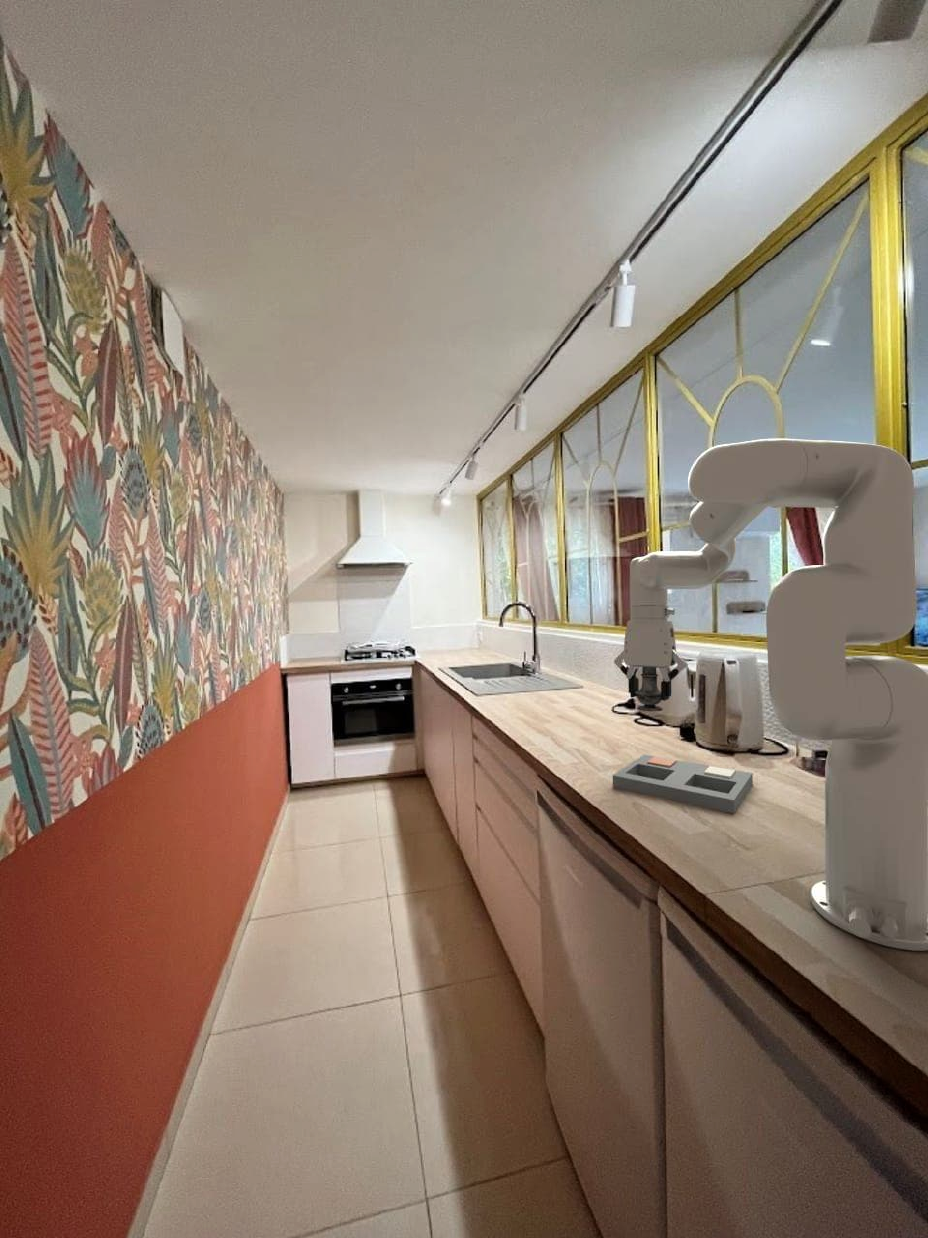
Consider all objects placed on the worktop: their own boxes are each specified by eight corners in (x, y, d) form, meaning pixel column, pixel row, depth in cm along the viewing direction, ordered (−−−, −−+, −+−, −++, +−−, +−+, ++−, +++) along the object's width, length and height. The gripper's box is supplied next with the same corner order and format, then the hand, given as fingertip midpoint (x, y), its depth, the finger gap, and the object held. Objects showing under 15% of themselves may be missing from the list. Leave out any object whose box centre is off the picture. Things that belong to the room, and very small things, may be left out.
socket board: (734, 813, 90) (733, 798, 90) (612, 786, 105) (612, 773, 105) (752, 784, 105) (752, 771, 105) (644, 764, 119) (643, 752, 119)
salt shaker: (667, 712, 103) (666, 654, 103) (637, 711, 104) (636, 654, 104) (661, 706, 109) (660, 652, 109) (633, 706, 110) (632, 652, 110)
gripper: (696, 613, 104) (697, 699, 104) (616, 614, 114) (617, 692, 115) (686, 614, 98) (687, 705, 98) (603, 615, 109) (604, 696, 109)
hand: (649, 697), depth 106 cm, fingers closed on salt shaker, 5 cm apart
